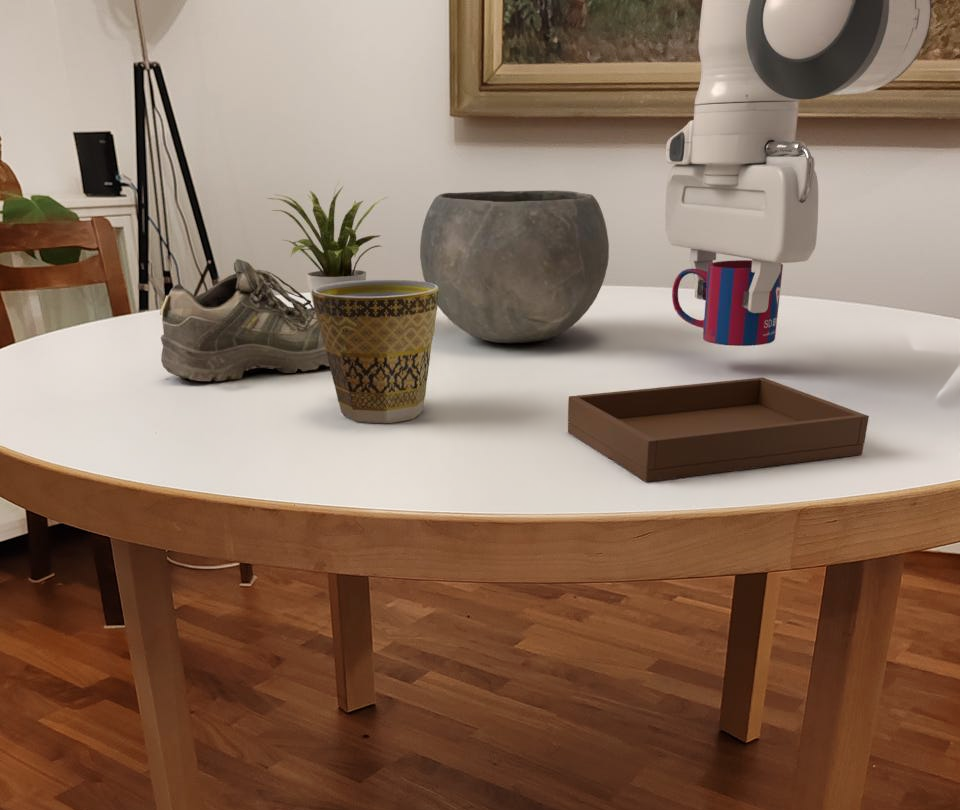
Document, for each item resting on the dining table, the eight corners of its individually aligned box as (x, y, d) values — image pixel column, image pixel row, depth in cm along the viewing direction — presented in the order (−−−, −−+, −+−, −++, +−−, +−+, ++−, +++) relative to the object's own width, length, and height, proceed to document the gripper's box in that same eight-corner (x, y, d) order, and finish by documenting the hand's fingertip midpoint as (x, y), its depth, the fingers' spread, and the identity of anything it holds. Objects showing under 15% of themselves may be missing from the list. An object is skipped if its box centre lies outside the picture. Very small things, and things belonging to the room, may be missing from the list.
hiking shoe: (391, 342, 98) (345, 227, 97) (192, 395, 89) (139, 269, 88) (360, 374, 106) (318, 268, 105) (175, 425, 97) (127, 310, 96)
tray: (758, 411, 81) (763, 377, 80) (862, 454, 70) (869, 415, 69) (567, 432, 76) (568, 396, 75) (645, 482, 65) (648, 440, 64)
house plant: (246, 334, 116) (228, 182, 108) (308, 315, 127) (295, 176, 120) (352, 341, 111) (341, 182, 103) (407, 321, 122) (400, 176, 115)
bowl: (397, 353, 104) (389, 199, 98) (456, 321, 122) (453, 188, 115) (585, 362, 99) (591, 199, 92) (619, 327, 117) (626, 188, 110)
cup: (763, 348, 90) (771, 269, 87) (660, 340, 95) (664, 265, 92) (783, 336, 95) (791, 261, 92) (684, 329, 100) (689, 258, 97)
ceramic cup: (464, 417, 81) (461, 289, 76) (354, 436, 76) (344, 301, 71) (391, 387, 91) (385, 272, 86) (290, 402, 86) (277, 282, 81)
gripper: (848, 139, 79) (825, 318, 85) (715, 141, 96) (704, 290, 102) (780, 141, 77) (761, 324, 83) (657, 143, 94) (649, 294, 100)
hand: (729, 305), depth 93 cm, fingers closed on cup, 7 cm apart
